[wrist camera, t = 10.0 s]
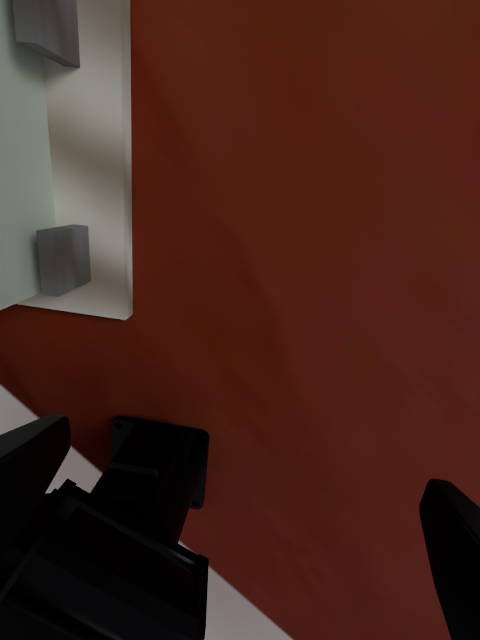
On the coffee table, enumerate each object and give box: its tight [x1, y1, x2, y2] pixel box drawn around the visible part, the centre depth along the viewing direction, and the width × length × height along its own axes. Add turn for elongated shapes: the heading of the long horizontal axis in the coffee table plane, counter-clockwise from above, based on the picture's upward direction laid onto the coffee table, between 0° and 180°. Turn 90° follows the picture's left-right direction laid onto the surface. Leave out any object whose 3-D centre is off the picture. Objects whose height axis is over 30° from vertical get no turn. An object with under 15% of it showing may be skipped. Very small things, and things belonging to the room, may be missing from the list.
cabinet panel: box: [12, 0, 133, 320], centre depth 17 cm, size 17×10×4 cm, turn 174°
